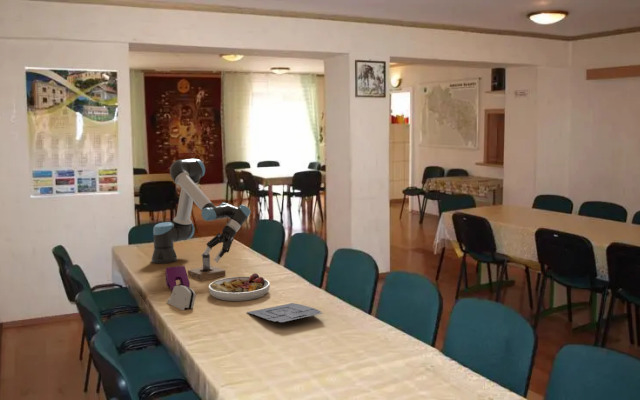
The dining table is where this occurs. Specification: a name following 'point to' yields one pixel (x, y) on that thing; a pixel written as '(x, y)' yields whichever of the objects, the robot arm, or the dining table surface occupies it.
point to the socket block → (206, 273)
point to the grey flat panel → (286, 312)
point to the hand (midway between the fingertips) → (209, 259)
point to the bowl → (239, 288)
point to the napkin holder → (182, 297)
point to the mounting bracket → (176, 276)
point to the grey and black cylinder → (206, 262)
